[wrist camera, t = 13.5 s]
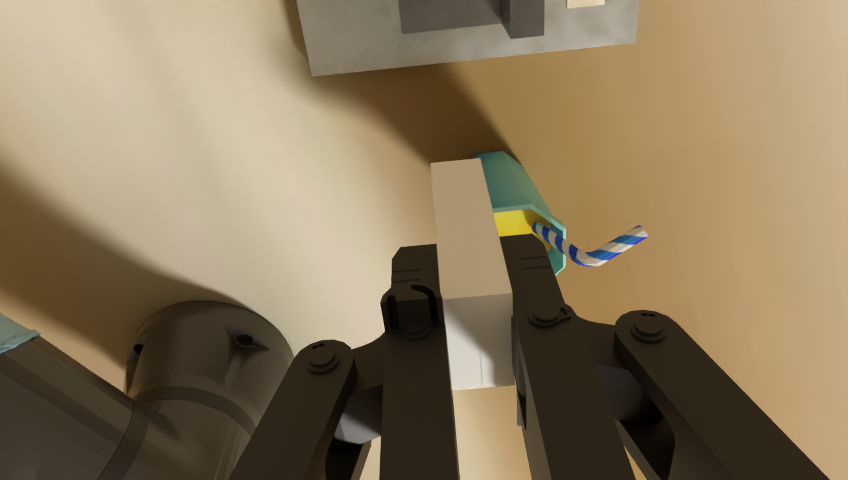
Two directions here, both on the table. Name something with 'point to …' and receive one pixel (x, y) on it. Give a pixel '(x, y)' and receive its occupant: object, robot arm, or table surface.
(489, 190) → the cup
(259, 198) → the table surface
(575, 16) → the panel
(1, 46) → the table surface
